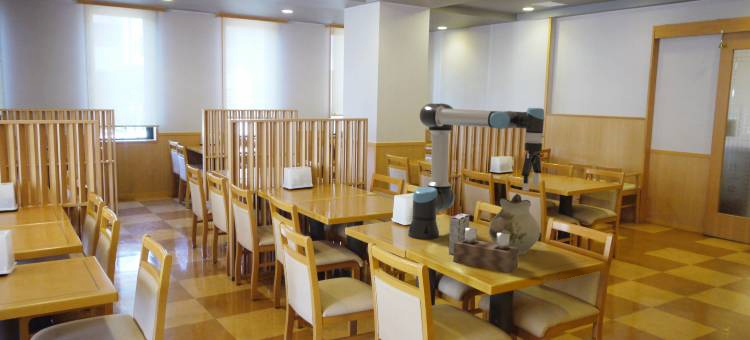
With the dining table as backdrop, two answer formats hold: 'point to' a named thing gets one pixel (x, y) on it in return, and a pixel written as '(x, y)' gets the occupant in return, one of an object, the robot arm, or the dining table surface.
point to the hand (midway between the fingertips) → (530, 188)
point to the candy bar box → (457, 229)
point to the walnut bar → (486, 256)
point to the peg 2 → (502, 241)
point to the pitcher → (516, 224)
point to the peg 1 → (470, 235)
